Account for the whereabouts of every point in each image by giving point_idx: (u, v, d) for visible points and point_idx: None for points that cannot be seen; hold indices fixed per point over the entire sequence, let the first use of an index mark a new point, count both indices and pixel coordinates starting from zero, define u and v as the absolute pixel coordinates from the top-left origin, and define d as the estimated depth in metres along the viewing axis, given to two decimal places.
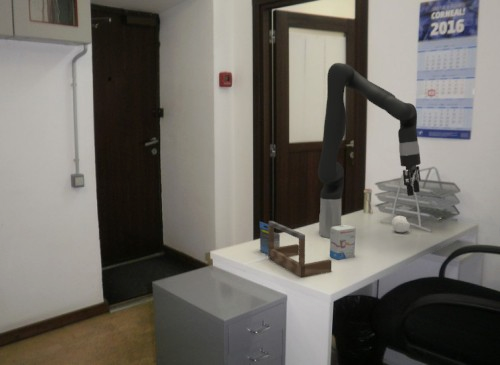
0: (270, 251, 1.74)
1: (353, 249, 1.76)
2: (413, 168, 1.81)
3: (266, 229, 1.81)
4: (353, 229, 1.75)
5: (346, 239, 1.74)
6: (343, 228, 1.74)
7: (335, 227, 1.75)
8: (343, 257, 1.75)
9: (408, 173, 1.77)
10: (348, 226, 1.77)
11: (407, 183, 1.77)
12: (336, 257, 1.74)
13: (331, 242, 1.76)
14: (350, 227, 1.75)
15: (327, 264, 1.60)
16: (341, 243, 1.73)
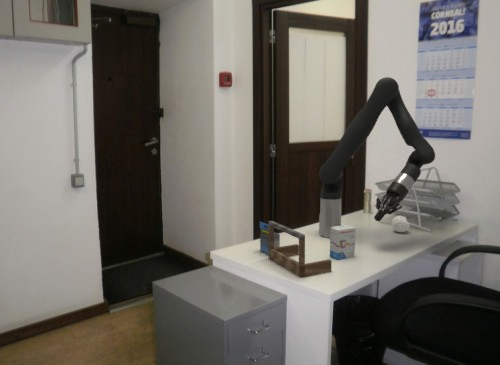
0: (270, 251, 1.74)
1: (353, 249, 1.76)
2: None
3: (266, 229, 1.81)
4: (353, 229, 1.75)
5: (346, 239, 1.74)
6: (343, 228, 1.74)
7: (335, 227, 1.75)
8: (343, 257, 1.75)
9: (398, 208, 1.79)
10: (348, 226, 1.77)
11: (388, 212, 1.81)
12: (336, 257, 1.74)
13: (331, 242, 1.76)
14: (350, 227, 1.75)
15: (327, 264, 1.60)
16: (341, 243, 1.73)
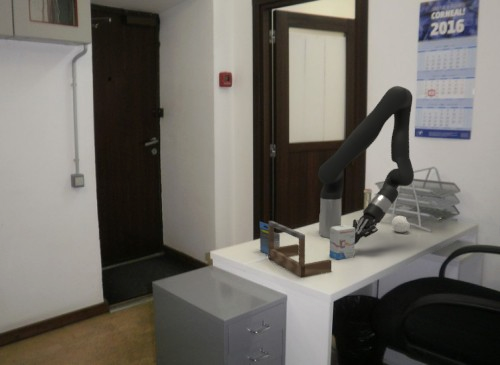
0: (270, 251, 1.74)
1: (353, 249, 1.76)
2: None
3: (266, 229, 1.81)
4: (353, 229, 1.75)
5: (346, 239, 1.74)
6: (343, 228, 1.74)
7: (335, 227, 1.75)
8: (343, 257, 1.75)
9: (374, 231, 1.75)
10: (348, 226, 1.77)
11: (364, 235, 1.77)
12: (336, 257, 1.74)
13: (330, 242, 1.76)
14: (350, 227, 1.75)
15: (327, 264, 1.60)
16: (341, 243, 1.73)
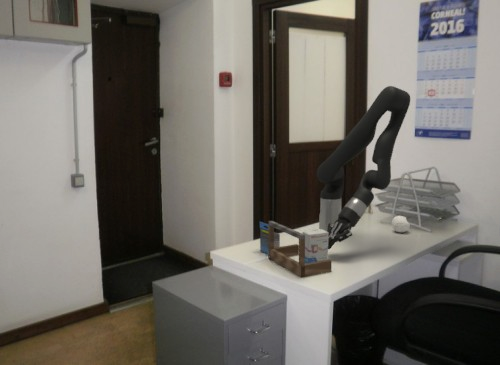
0: (270, 251, 1.74)
1: (326, 254, 1.70)
2: None
3: (266, 229, 1.81)
4: (326, 233, 1.69)
5: (318, 244, 1.68)
6: (315, 232, 1.68)
7: (307, 231, 1.70)
8: None
9: (348, 236, 1.70)
10: (321, 230, 1.71)
11: (339, 239, 1.71)
12: (307, 262, 1.68)
13: None
14: (323, 231, 1.70)
15: (327, 264, 1.60)
16: (312, 247, 1.67)
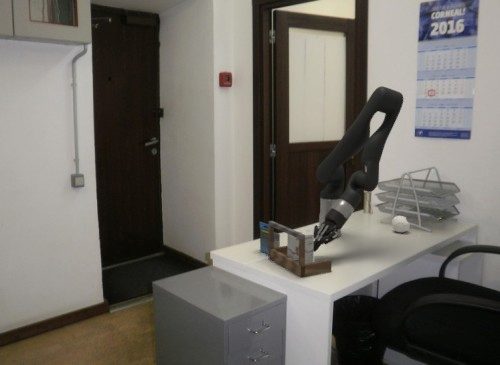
0: (270, 251, 1.74)
1: (311, 257, 1.68)
2: None
3: (266, 229, 1.81)
4: (311, 236, 1.66)
5: None
6: None
7: None
8: None
9: (334, 238, 1.67)
10: (307, 232, 1.68)
11: (324, 242, 1.69)
12: None
13: (288, 249, 1.68)
14: (308, 233, 1.67)
15: (327, 264, 1.60)
16: (297, 249, 1.65)
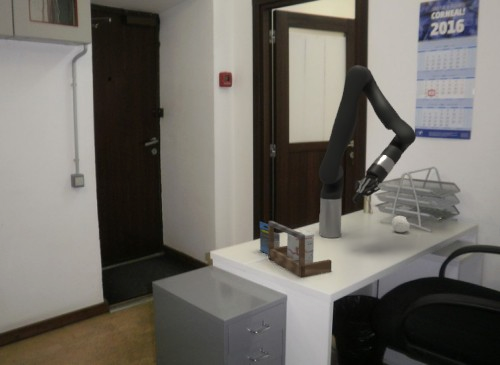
0: (270, 251, 1.74)
1: (311, 257, 1.68)
2: None
3: (266, 229, 1.81)
4: (311, 236, 1.66)
5: None
6: None
7: None
8: None
9: (376, 190, 1.76)
10: (307, 232, 1.69)
11: (366, 194, 1.77)
12: None
13: (288, 249, 1.68)
14: (308, 233, 1.67)
15: (327, 264, 1.60)
16: (297, 250, 1.65)
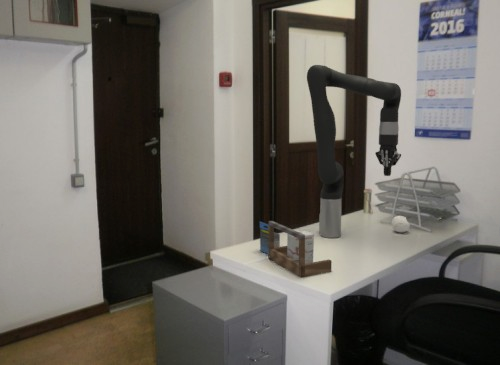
0: (270, 251, 1.74)
1: (311, 257, 1.68)
2: None
3: (266, 229, 1.81)
4: (311, 236, 1.66)
5: None
6: None
7: None
8: None
9: (399, 157, 1.83)
10: (307, 232, 1.69)
11: (393, 164, 1.85)
12: None
13: (288, 249, 1.68)
14: (308, 233, 1.67)
15: (327, 264, 1.60)
16: (297, 250, 1.65)
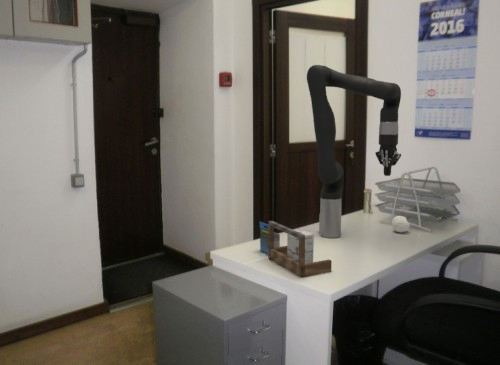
0: (270, 251, 1.74)
1: (311, 257, 1.68)
2: None
3: (266, 229, 1.81)
4: (311, 236, 1.66)
5: None
6: None
7: None
8: None
9: (399, 157, 1.83)
10: (307, 232, 1.69)
11: (393, 164, 1.85)
12: None
13: (288, 249, 1.68)
14: (308, 233, 1.67)
15: (327, 264, 1.60)
16: (297, 250, 1.65)
